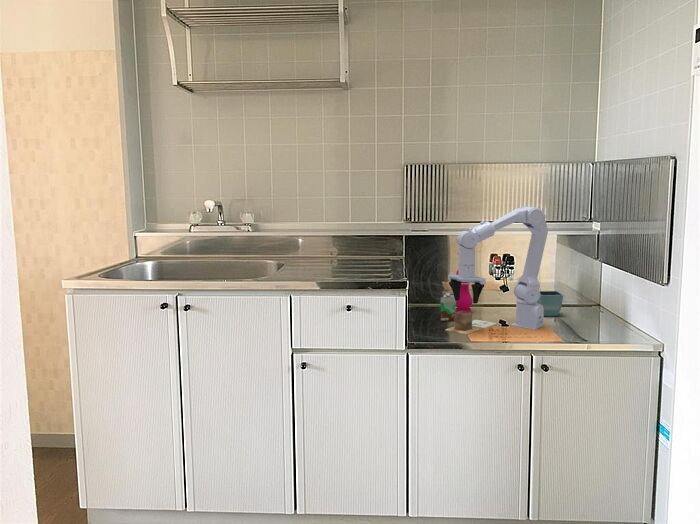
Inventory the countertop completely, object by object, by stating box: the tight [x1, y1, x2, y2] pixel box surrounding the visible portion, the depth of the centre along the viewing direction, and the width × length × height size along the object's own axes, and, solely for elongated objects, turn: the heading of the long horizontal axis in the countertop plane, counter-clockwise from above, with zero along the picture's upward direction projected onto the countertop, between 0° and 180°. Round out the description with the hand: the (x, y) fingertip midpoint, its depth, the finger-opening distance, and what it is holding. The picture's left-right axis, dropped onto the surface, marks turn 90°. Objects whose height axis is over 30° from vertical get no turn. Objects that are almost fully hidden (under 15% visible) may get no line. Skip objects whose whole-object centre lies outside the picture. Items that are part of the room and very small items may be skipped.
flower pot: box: [537, 290, 564, 317], centre depth 251 cm, size 9×9×9 cm
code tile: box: [472, 319, 497, 329], centre depth 239 cm, size 9×9×1 cm
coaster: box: [444, 326, 481, 336], centre depth 230 cm, size 9×9×1 cm
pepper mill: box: [455, 268, 473, 313], centre depth 256 cm, size 7×7×20 cm
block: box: [453, 311, 473, 331], centre depth 230 cm, size 4×4×6 cm
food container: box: [440, 291, 457, 323], centre depth 246 cm, size 12×6×10 cm, turn 168°
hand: (466, 301), depth 230 cm, fingers open, 7 cm apart
